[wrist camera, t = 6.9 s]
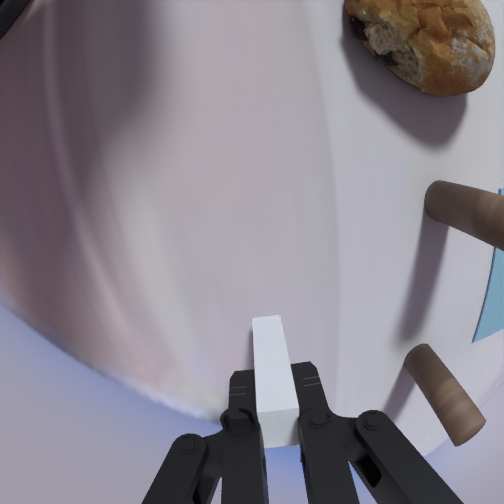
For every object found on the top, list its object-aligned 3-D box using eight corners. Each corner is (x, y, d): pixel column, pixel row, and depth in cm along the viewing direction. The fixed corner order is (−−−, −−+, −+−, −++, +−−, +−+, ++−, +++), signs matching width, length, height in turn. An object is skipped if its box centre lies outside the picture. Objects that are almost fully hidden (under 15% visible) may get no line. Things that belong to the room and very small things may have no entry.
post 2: (407, 348, 18) (463, 430, 10) (433, 340, 18) (491, 413, 10) (401, 371, 19) (448, 451, 11) (426, 363, 19) (476, 436, 11)
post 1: (424, 180, 14) (540, 212, 6) (453, 180, 14) (560, 210, 6) (424, 221, 15) (529, 276, 7) (452, 218, 15) (552, 266, 7)
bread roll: (432, 108, 16) (521, 108, 9) (346, 89, 12) (489, 67, 5) (404, 4, 13) (482, -13, 6) (310, -42, 9) (406, -93, 2)
